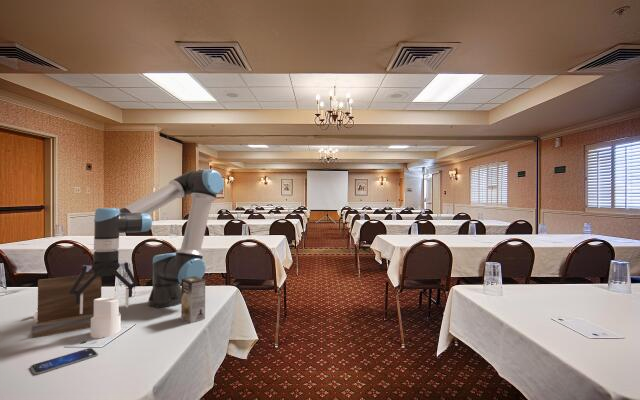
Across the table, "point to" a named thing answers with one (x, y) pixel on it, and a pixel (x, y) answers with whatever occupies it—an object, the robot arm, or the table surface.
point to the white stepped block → (105, 318)
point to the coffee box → (193, 299)
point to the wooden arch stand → (64, 305)
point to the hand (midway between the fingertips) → (104, 309)
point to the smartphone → (62, 361)
